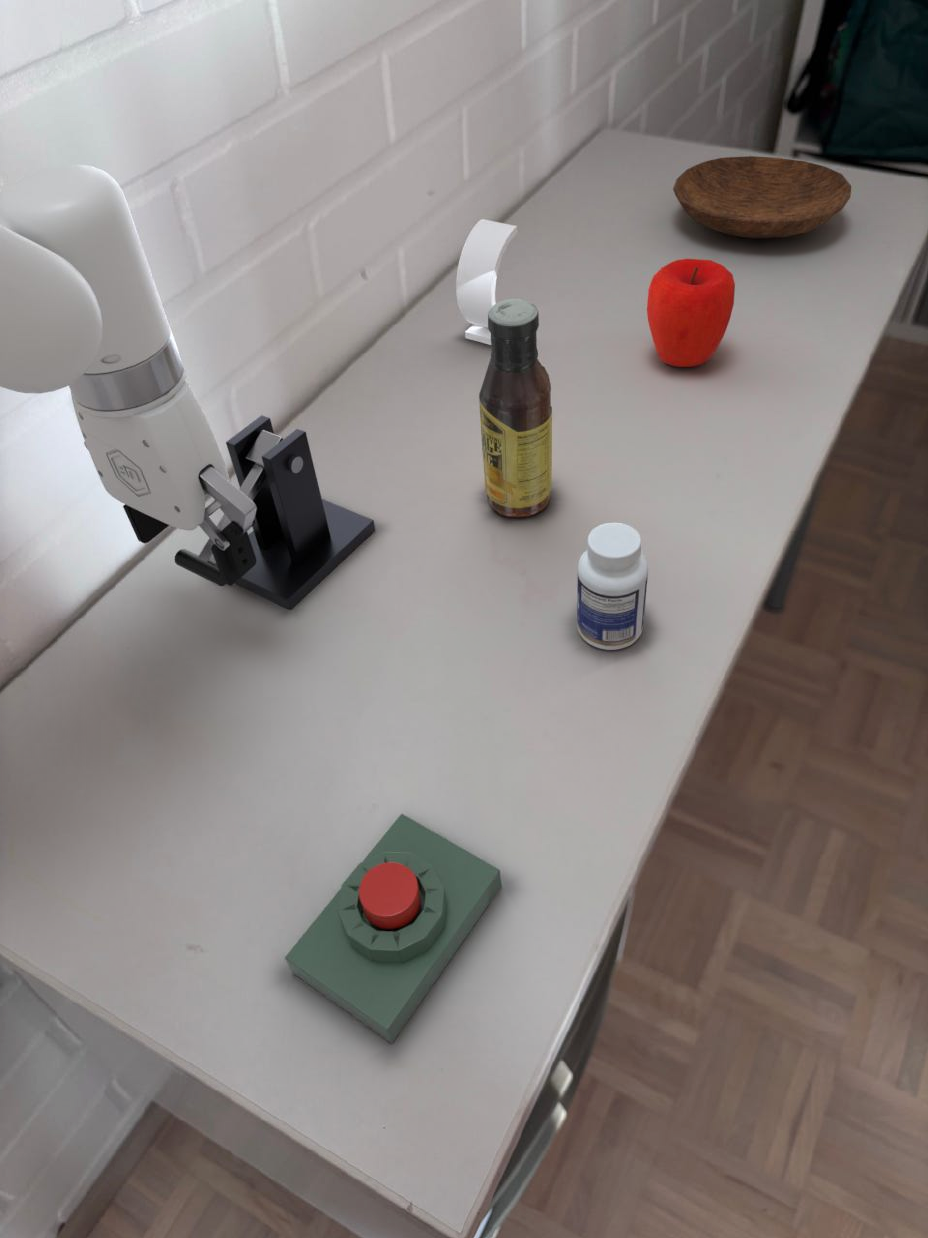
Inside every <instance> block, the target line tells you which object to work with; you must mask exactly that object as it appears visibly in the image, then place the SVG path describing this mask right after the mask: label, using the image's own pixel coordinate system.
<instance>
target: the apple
mask: <svg viewBox="0 0 928 1238" xmlns="http://www.w3.org/2000/svg"><path fill="white" fill-rule="evenodd" d="M735 292H736V283H735V279H734V275H733V273H732V272H730V270H729V269H727V268H726V266H724V265H722V264H721V263H718V262H716V261H714V260H711V259H700V258H699V259H698V258H683V259H676V260H674V261H671V262H669V263H667V264H666V265H664V266H662V267H661V268H660V269H659V270H658V271H657V272H656V273H654V274H653V276H652V277H651V281H650V284H649V287H648V291H647V302H646V316H647V322H648V327H649V331H650V334H651V338H652V342H653V344H654V347H655V351H656V354H657V355H658V357H659V359H660V361H662V362H663V363H665V364H668V365H670V366H671V367H672V366H673V367H677V368H678V367H679V368H691V367H693V368H694V367H697V366H700V365H703V364H704V363H706V361H708V360H709V359H710V358H711V357H712V356H713V354H714V353H715V352H716V350H717V349H718V348H719V346H720V344H721V342H722V340H723V338H724V336H725V334H726V331H727V329H728V326H729V324H730V321H731V317H732V312H733V308H734V305H735Z"/></svg>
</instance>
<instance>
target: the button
mask: <svg viewBox="0 0 928 1238" xmlns="http://www.w3.org/2000/svg"><path fill="white" fill-rule="evenodd" d="M359 898H360V901H361V904H362V907H363V910H364V913H365V915H366V917H367V919H368V920H369V921H370V922H371V923H372V924H373V925H375V926H377V927H379V928H383V929H396V928H400V927H402V926H404V925H406V924H408V923H409V922H410V921H411V920H412V919H413V918H414V917H415V916H416V914H417V913H418V910H419V908H420V904H421V895H420V891H419V887H418V882H417V879H416V876H415V875H414V873H413V872H412V871H411V870H410V869H409V868H408V867H406V866H404V865H402V864H400V863H395V862H387V863H382V864H379V865H377V866H375V867H373V868H372V869H371V870H369V871H368V872H367V873H366V874H365V876H364V877H363V879H362V881H361V883H360V887H359Z"/></svg>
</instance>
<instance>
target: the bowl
mask: <svg viewBox="0 0 928 1238" xmlns="http://www.w3.org/2000/svg"><path fill="white" fill-rule="evenodd" d="M672 190H673V193H674V196H675V198H676V199H677V201H678V203H679V205H680V206H681V208H682V210H683V211H684V212H685V213H686V214H687V215H688V216H689V217H690V218H691V219H692V220H695V222H697V223H699V224H701V225H702V226H704V227H706V228H707V229H711V230H714V231H716V232H719V233H723V234H725V235H729V236H735V237H741V238H748V239H768V238H788V237H792V236H796V235H801V234H805V233H808V232H811V231H812V230H814V229H816V228H818V227H820V226H822V225H824V224H825V223H827V222H828V221H829V220H831V219H832V218H833V217H834V216H836V215H837V214H838V213H839V212H841V211H842V210H843V209H844V207H845V206H846V204H847V203H848V202H849V200H850V199H851V195H852V185H851V184H850V182H849V180H847V179H846V177H845V176H844V174H842V173H841V172H840V171H839V172H838V171H837V170H834V169H832V168H830V167H827V166H824V165H820V164H817V163H812V162H809V161H803V160H797V159H790V158H788V159H787V158H782V157H781V158H780V157H772V156H771V157H769V156H768V157H767V156H753V155H749V156H748V155H747V156H729V157H719V158H714V159H710V160H706V161H701V162H700V163H697V164H695V165H693V166H691V167H689V168H687V169H686V170H684V171H683V172H682V173H681V174H680V175H679V176H678V177H677V178H676V179H675V182H674V185H673V188H672Z"/></svg>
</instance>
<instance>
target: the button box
mask: <svg viewBox="0 0 928 1238" xmlns="http://www.w3.org/2000/svg"><path fill="white" fill-rule="evenodd" d="M387 862H395V863H400V864H402V865H404V866H406V867H408V868H409V869H410V870H411V871H412V872H413V873H414V875H415V876H416V879H417V882H418V887H419V891H420V895H421V904H420V908H419V910H418V913H417V914H416V916H415V917H414V918H413V919H412V920H411V921H410V922H409V923H408V924H406V925H404V926H402V927H400V928H396V929H383V928H379V927H377V926H375V925H373V924H372V923H371V922H370V921H369V920H368V919H367V917H366V915H365V913H364V910H363V907H362V904H361V901H360V898H359V887H360V883H361V881H362V879H363V877H364V876H365V874H366V873H367V872H368V871H369V870H371V869H372V868H373V867H375V866H377V865H379V864H382V863H387ZM340 887H341V888H340V889H339V890H338V891H337V892H336V893H335V895H334V896H333V897H332V899H331V900H330V901H329V902H328V904H326V906H324V907H325V908H324V909H323V910H322V911H321V912H320V914H319V915H318V916H317V917H316V919H315V920H314V921H313V922H312V923H311V925H310V926H309V927H308V928H307V930H306V931H305V932H304V933H303V934H302V936H301V937H300V938H299V939H298V940H297V942H296V943H295V945H293V947H292V948H291V949H290V950H289V952H288V953H287V954H286V955H285V957H284V959H285V961H286V963H287V965H288V967H289V969H290V972H291V973H292V974H293V975H295V976H297V977H298V978H299V979H300V980H302V981H303V982H305V983H306V984H307V985H309V986H310V987H312V988H313V989H315V990H316V991H317V992H319V993H320V994H321V995H323V996H324V997H326V998H327V999H328V1000H330V1001H332V1002H333V1004H336V1005H337V1006H338V1007H340V1008H341V1009H343V1010H344V1011H345V1012H347V1013H348V1014H350V1015H351V1016H352V1017H353V1018H355V1019H356V1020H358V1021H359V1022H361V1023H362V1024H363V1025H365V1026H366V1027H368V1028H369V1029H371V1030H372V1031H374V1032H375V1033H376V1034H378V1035H379V1036H380V1037H382V1038H383V1039H385V1040H386V1041H387V1042H389V1043H390V1044H393V1043H394V1041H395V1040H396V1038H397V1037H398V1036H399V1034H400V1033H401V1031H402V1030H403V1029H404V1027H405V1026H406V1024H407V1023H408V1021H409V1019H410V1018H412V1015H413V1014H414V1013H415V1011H416V1010H417V1008H418V1007H419V1006H420V1004H421V1002H422V1001H423V1000H424V998H425V997H426V996H427V994H428V993H429V991H430V989H432V987H433V985H434V984H435V982H436V981H437V980H438V978H439V977H440V975H442V973H443V971H444V970H445V968H446V967H447V966H448V964H449V962H450V961H451V959H452V958H453V957H454V955H455V954H456V953H457V951H458V949H459V948H460V947H461V945H462V944H463V942H464V941H465V939H466V938H467V936H468V935H469V934H470V932H471V931H472V929H473V928H474V926H475V925H476V924H477V923H478V920H479V919H480V918H481V916H482V915H483V914H484V912H485V911H486V909H487V908H488V907H489V905H490V903H491V902H492V901H493V899H494V898H495V897H496V895H497V893H499V890H500V889H501V888H502V878H501V869H498V867H496V866H493V865H492V864H490V863H489V862H487V861H485V860H483V859H482V858H480V857H478V856H477V855H475V854H473V853H471V852H469V851H468V850H466V849H464V848H463V847H462V846H459V845H458V844H456V843H454V842H453V841H450V840H449V839H447V838H445V837H444V836H442V835H440V834H439V833H436V832H435V831H433V830H431V829H430V828H428V827H426V826H424V825H422V824H421V823H419V822H417V821H416V820H414V819H413V818H411V817H409V816H407V815H405V814H403V813H400V815H399V816H398V817H397V818H396V819H395V821H394V822H393V824H392V825H391V826H390V827H389V828H388V830H387V831H386V832H385V833H384V835H383V836H382V837H381V838H380V839H379V841H378V842H377V843H376V844H375V846H374V847H373V848H372V849H371V851H370V852H368V854H367V855H366V856H365V858H364V859H363V861H361V862H360V863H358V864H357V865H356V867H355V868H354V869H353V870H352V872H351V873H350V874H349V876H348V877H347V878H346V879H345V880H344V882H343V883H342V884H341V886H340Z"/></svg>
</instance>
